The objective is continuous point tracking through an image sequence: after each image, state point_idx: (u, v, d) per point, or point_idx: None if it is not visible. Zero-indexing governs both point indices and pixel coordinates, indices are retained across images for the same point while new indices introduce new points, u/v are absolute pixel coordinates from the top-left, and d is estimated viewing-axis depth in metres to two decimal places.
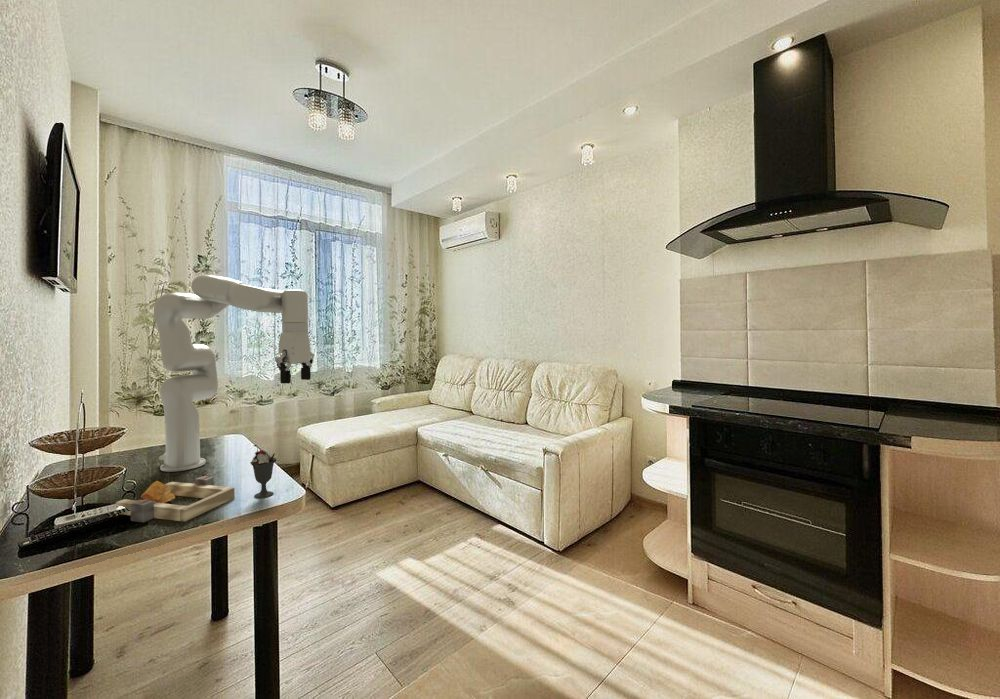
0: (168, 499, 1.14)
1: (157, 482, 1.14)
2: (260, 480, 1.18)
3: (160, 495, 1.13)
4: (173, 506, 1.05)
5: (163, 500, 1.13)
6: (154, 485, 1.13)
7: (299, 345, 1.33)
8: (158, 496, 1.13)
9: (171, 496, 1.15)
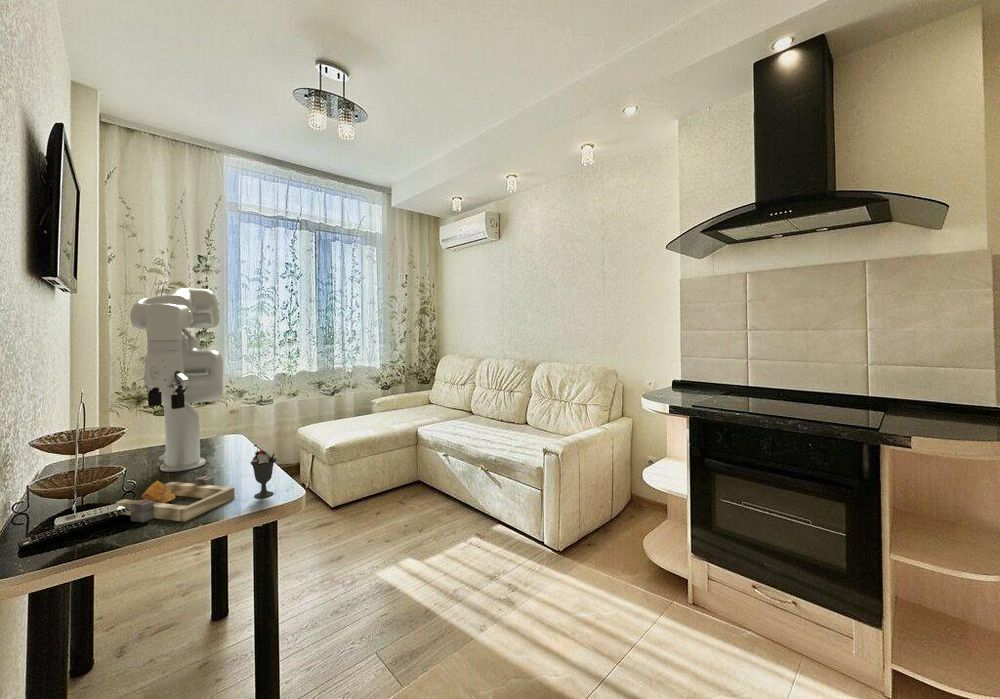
0: (168, 499, 1.14)
1: (157, 482, 1.14)
2: (260, 480, 1.18)
3: (160, 495, 1.13)
4: (173, 506, 1.05)
5: (163, 500, 1.14)
6: (154, 485, 1.13)
7: None
8: (158, 496, 1.13)
9: (171, 496, 1.15)
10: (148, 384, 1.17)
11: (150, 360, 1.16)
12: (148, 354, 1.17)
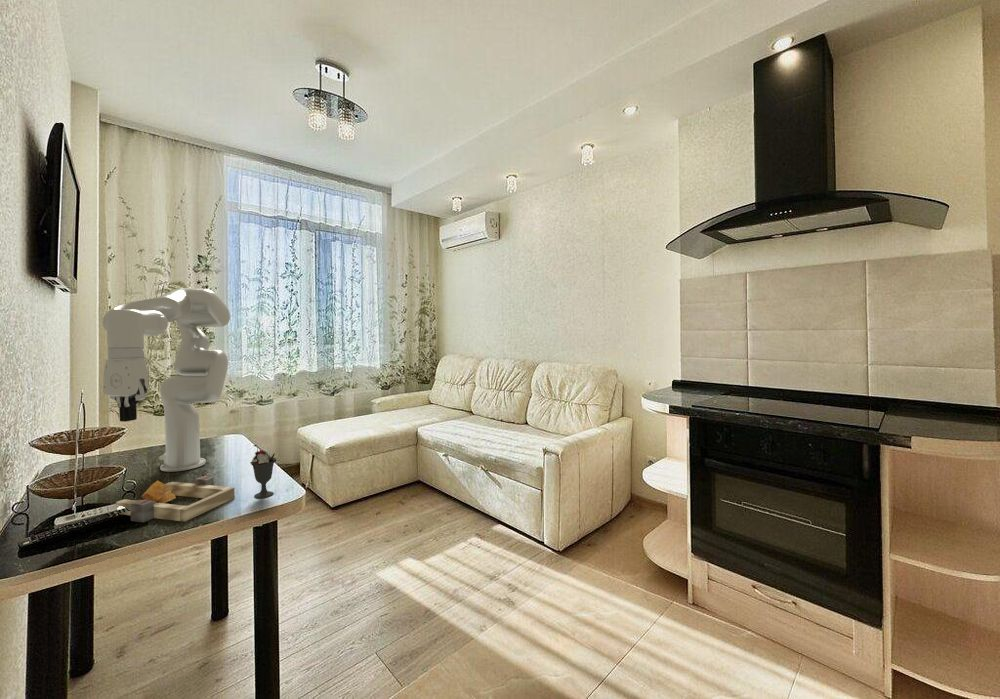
0: (169, 499, 1.14)
1: (158, 482, 1.14)
2: (260, 480, 1.18)
3: (161, 495, 1.13)
4: (173, 506, 1.05)
5: (164, 500, 1.14)
6: (155, 485, 1.13)
7: None
8: (159, 496, 1.13)
9: (172, 496, 1.15)
10: (108, 393, 1.13)
11: (110, 368, 1.12)
12: (108, 361, 1.12)
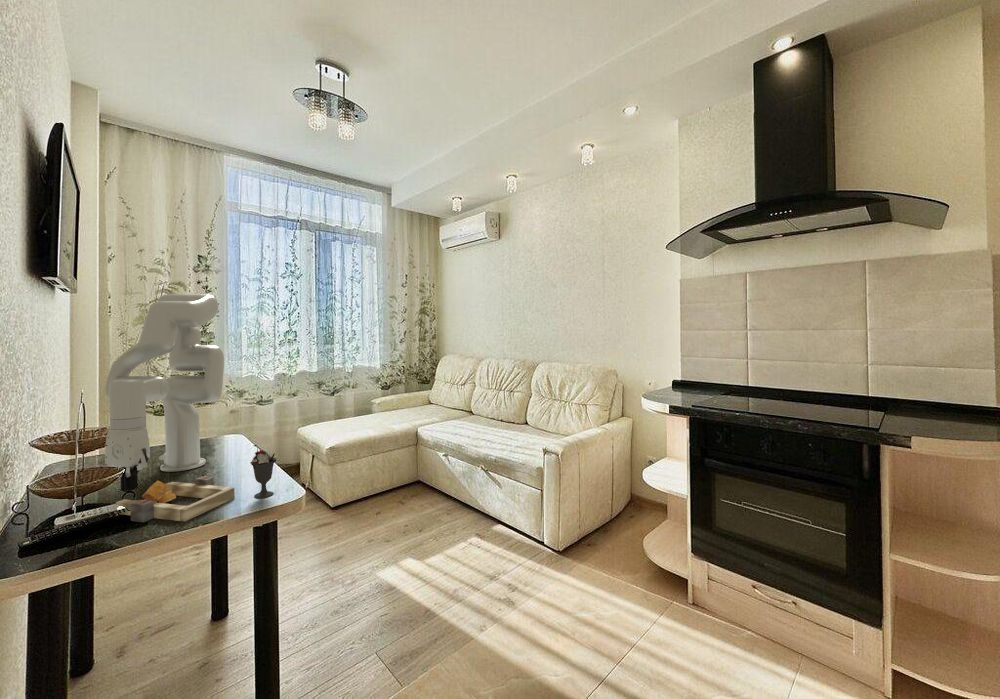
0: (169, 499, 1.14)
1: (158, 482, 1.14)
2: (260, 480, 1.18)
3: (161, 495, 1.13)
4: (173, 506, 1.05)
5: (164, 500, 1.14)
6: (155, 485, 1.13)
7: None
8: (159, 496, 1.13)
9: (172, 496, 1.15)
10: (110, 463, 1.13)
11: (112, 438, 1.13)
12: (110, 432, 1.13)
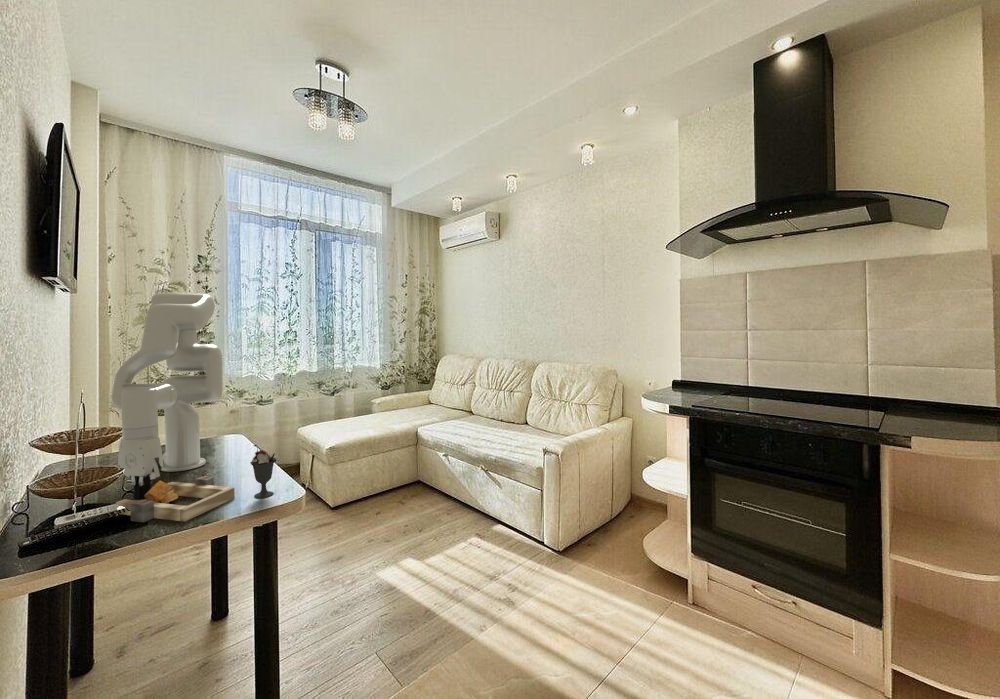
0: (171, 499, 1.14)
1: (160, 482, 1.14)
2: (260, 480, 1.18)
3: (163, 495, 1.13)
4: (173, 506, 1.05)
5: (166, 500, 1.14)
6: (157, 485, 1.13)
7: None
8: (161, 496, 1.13)
9: (174, 496, 1.15)
10: None
11: (125, 447, 1.12)
12: (123, 441, 1.13)
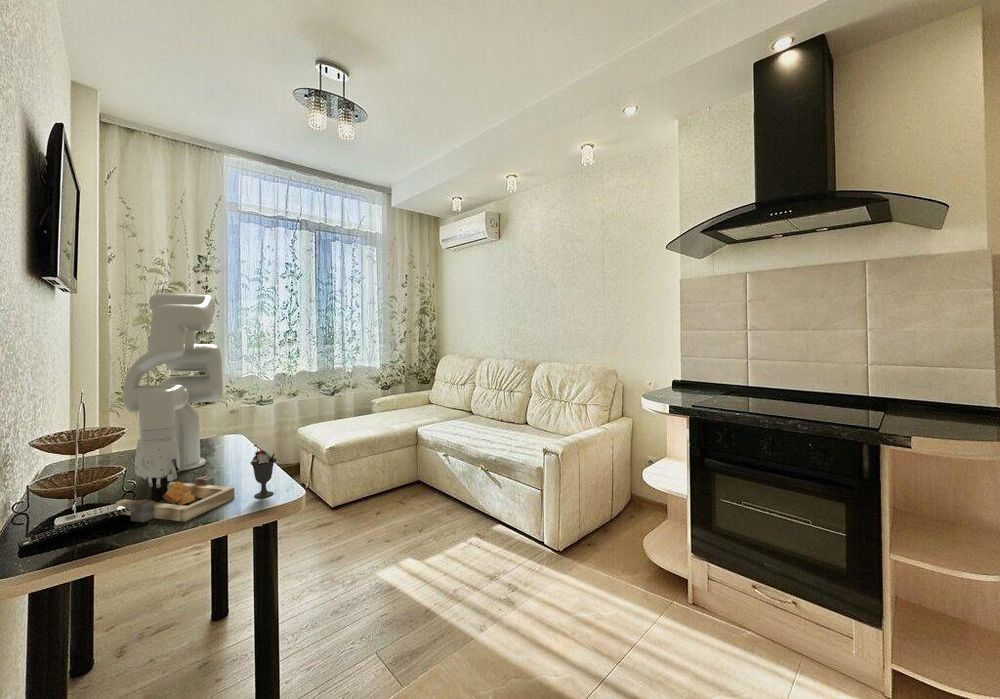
0: (187, 500, 1.13)
1: (178, 483, 1.14)
2: (260, 480, 1.18)
3: (180, 496, 1.13)
4: (173, 506, 1.05)
5: (183, 501, 1.13)
6: (174, 486, 1.13)
7: None
8: (178, 497, 1.12)
9: (191, 497, 1.14)
10: (140, 474, 1.12)
11: (143, 449, 1.11)
12: (140, 443, 1.12)
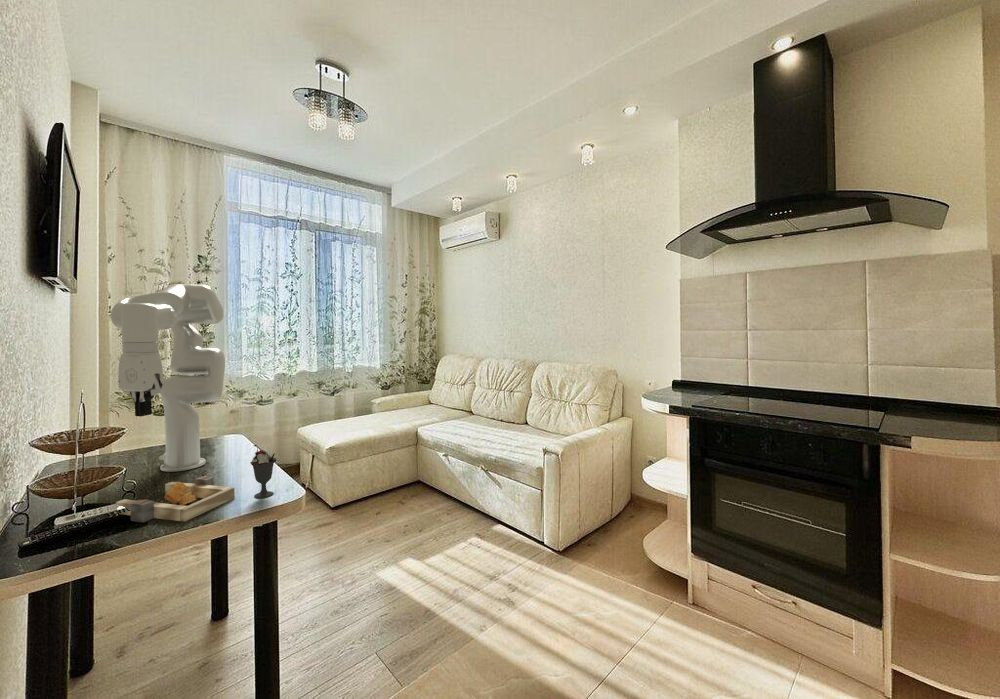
0: (188, 501, 1.13)
1: (179, 483, 1.14)
2: (260, 480, 1.18)
3: (181, 496, 1.13)
4: (173, 506, 1.05)
5: (183, 501, 1.13)
6: (175, 486, 1.13)
7: None
8: (179, 497, 1.12)
9: (192, 498, 1.14)
10: (123, 387, 1.12)
11: (126, 362, 1.11)
12: (123, 356, 1.12)
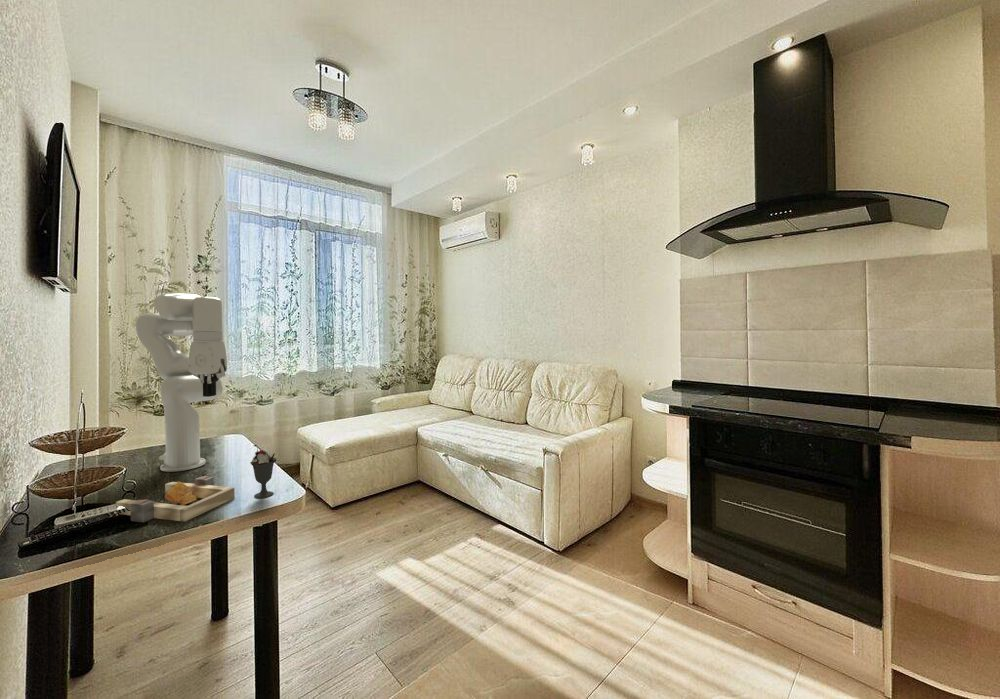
0: (189, 501, 1.13)
1: (179, 483, 1.14)
2: (260, 480, 1.18)
3: (181, 496, 1.13)
4: (173, 506, 1.05)
5: (184, 501, 1.13)
6: (176, 486, 1.13)
7: None
8: (179, 497, 1.12)
9: (192, 498, 1.14)
10: (193, 371, 1.27)
11: (196, 349, 1.27)
12: (193, 343, 1.27)
